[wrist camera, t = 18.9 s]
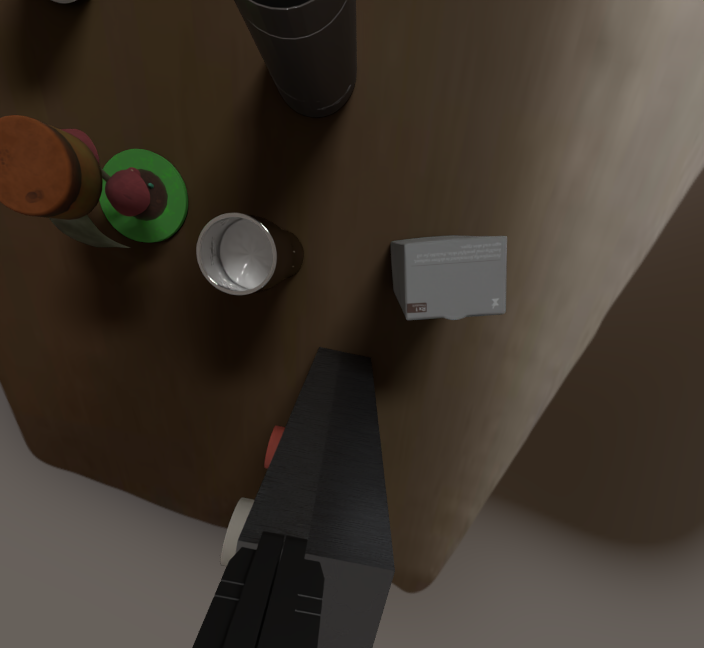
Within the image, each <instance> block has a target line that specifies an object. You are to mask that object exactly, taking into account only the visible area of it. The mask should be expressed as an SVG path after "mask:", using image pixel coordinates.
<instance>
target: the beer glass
mask: <svg viewBox="0 0 704 648" xmlns="http://www.w3.org/2000/svg"><path fill="white" fill-rule="evenodd" d="M196 253H197V260H198V264H199V267H200V269H201V271H202V273H203V275H204V276H205V278H206V279H207V280H208V281H209V282H210V283H211V284H212V285H213V286H214V287H216V288H217V289H219V290H221V291H223V292H225V293H228V294H232V295H247V294H252V293H258V292H262V291H266V290H268V289H271V288H273V287H274V286H276V285H278V284H279V283H280V282H281V281H282V280H283V279H285V278H289V277H291V276H293V275H294V274H296V273H297V272H298V271H299V269H300V268H301V266H302V264H303V260H304V250H303V246H302V244H301V242H300V241H299V239H298V238H297V237H296V236H295V235H294V234H293V233H291V232H289V231H287V230H284V229H281V228H280V227H279V226H277V225H276V224H274V223H273V222H271V221H269V220H267V219H265V218H262V217H259V216H255V215H249V214H242V213H226V214H222V215H219V216H217V217H215V218H214V219H212V220H211V221H210V222H208V223H207V224H206V226H205V227H204V228H203V230H202V231H201V233H200V235H199V238H198V242H197V248H196Z"/></svg>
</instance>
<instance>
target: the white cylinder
mask: <svg viewBox="0 0 704 648" xmlns="http://www.w3.org/2000/svg"><path fill="white" fill-rule="evenodd" d="M254 501H255V500H253V499H248V498H243V497H242V498H241V499H240V500H239V502H238V504H237V506H236V508H235V510H234V512H233V515H232V517H231V520H230V523H229V526H228V529H227V532H226V536H225V539H224V543H223V547H222V552H221V559H220V564H221V565H223V566H227V565H228V562H229V560H230V559H231V558H232V557H233V556H234V555H235V553H236V547H237V541H238V538H239V536H240V534H241V531H242V529H243V527H244V524H245V522H246V519H247V517H248V515H249V512H250V510H251V508H252V505H253V503H254Z"/></svg>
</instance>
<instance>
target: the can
mask: <svg viewBox="0 0 704 648" xmlns="http://www.w3.org/2000/svg"><path fill="white" fill-rule="evenodd" d="M52 1H55V2H58V3H71V2H74V1H76V0H52Z"/></svg>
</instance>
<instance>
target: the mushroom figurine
mask: <svg viewBox="0 0 704 648" xmlns="http://www.w3.org/2000/svg"><path fill="white" fill-rule="evenodd" d="M99 200H100V204H101V207H102V210H103V212H104V214H105V216H106V218H107V219H108V221H109V222H110V223H111V225H112V226H113V227H114V228H115V229H116V230H118V231H119V232H120V233H121V234H123V235H124V236H126V237H128V238H130V239H133V240H135V241H139V242H149V243H152V242H159V241H163V240H165V239H168V238H169V237H171V236H172V235H174V234H175V233H176V232H177V231H178V230H179V229H180V227H181V226H182V224H183V222H184V220H185V218H186V215H187V210H188V195H187V190H186V186H185V184H184V181H183V179H182V177H181V176H180V174H179V172H178V171H177V170H176V168H175V167H174V166H173V165H172V164H171V163H170V162H169V161H167V160H166V159H165V158H163V157H161V156H160V155H158V154H156V153H153V152H151V151H147V150H142V149H130V150H126V151H123V152H120V153H118V154H117V155H115V156H114V157H113V158H111V159H110V160H109V161H108V162H107V164H106V165H105V167H104V168H103V169H101V168H100V166H99V156H98V153H97V150H96V148H95V146H94V144H93V143H92V141H91V140H90V138H89V137H88V136H87V135H86V134H85V133H84V132H82V131H80V130H77V129H61V130H60V129H58V128H55V127H53V126H50V125H48V124H45V123H43V122H41V121H38V120H36V119H33V118H29V117H26V116H19V115H11V116H4V117H2V118H0V202H1V203H3V204H4V205H5V206H6V207H8V208H10V209H12V210H14V211H15V212H18V213H21V214H24V215H29V216H38V217H47V218H50V220H51V221H52V222H53V224H54V225H55V226H56V227H57V228H58V229H59V230H61V231H62V232H63V233H64V234H66V235H67V236H69V237H71V238H73V239H75V240H77V241H80V242H82V243H85V244H88V245H91V246H94V247H122V248H130V247H127V246H125V245H122V244H119V243H117V242H115V241H113V240H111V239H109V238H108V237H106V236H105V235H104V234H103V233H101V232H100V231H99V230H98V228H97V227H96V226H95V225H94V224H93V222H92V221H91V220H90V218H89V217H88V216H87V214H88V213H90V212H91V211H92V210H93V209H94V207H95V206H96V205H97V203H98V201H99Z"/></svg>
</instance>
